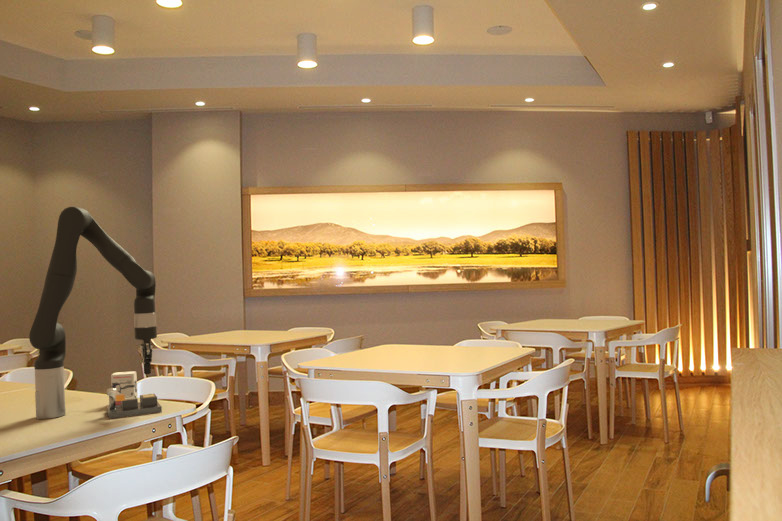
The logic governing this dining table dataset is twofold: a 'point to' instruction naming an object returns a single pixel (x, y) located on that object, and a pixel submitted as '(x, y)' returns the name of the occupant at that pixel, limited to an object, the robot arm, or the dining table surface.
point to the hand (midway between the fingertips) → (147, 373)
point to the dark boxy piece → (134, 406)
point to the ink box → (125, 383)
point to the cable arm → (115, 394)
